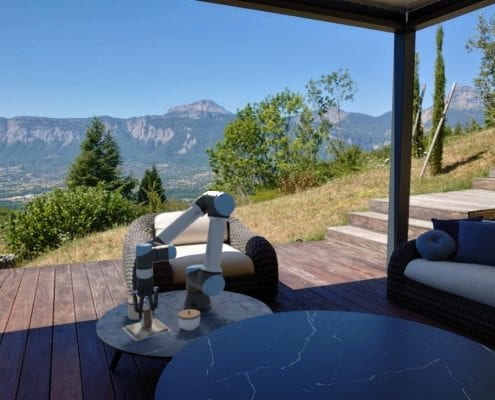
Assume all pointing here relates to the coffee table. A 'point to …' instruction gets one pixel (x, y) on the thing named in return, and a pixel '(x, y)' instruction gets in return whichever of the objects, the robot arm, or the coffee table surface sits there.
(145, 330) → the board
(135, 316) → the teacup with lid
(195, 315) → the lidded jar
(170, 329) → the mat
